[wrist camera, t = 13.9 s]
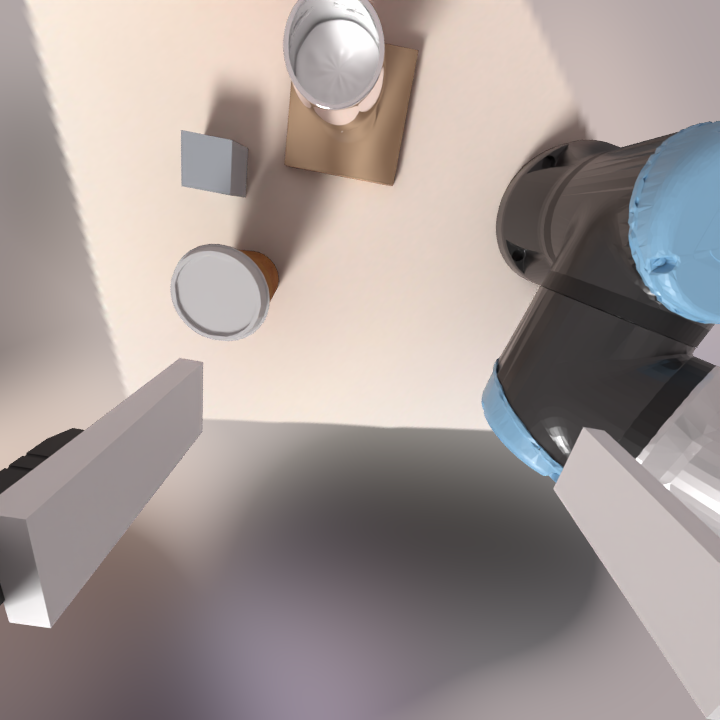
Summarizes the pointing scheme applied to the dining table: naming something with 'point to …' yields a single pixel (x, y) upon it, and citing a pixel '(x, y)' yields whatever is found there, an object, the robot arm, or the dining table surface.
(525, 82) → the dining table surface
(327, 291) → the dining table surface
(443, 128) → the dining table surface
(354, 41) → the steel tumbler
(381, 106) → the walnut board
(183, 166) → the slate block
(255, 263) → the disposable coffee cup
